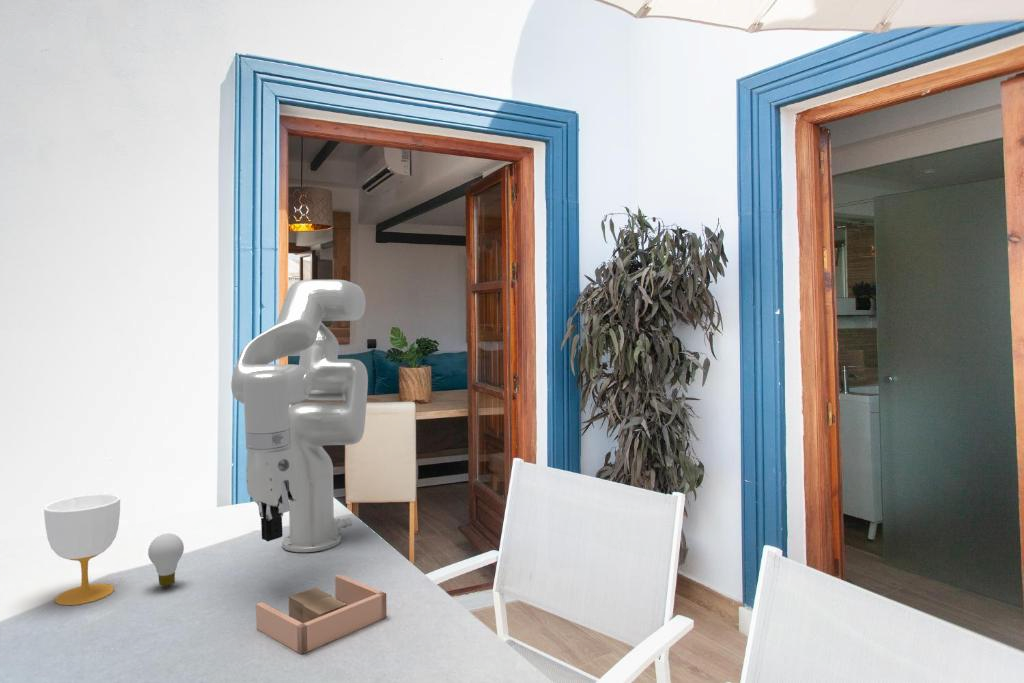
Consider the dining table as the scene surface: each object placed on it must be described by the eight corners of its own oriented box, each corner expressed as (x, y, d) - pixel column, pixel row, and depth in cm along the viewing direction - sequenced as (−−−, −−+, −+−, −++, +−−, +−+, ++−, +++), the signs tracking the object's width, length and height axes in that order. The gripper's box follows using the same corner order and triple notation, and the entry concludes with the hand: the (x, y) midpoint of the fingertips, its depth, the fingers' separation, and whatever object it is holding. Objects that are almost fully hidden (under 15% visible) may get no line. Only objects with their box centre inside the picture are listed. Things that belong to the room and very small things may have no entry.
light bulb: (169, 594, 119) (168, 540, 119) (141, 592, 120) (140, 538, 120) (191, 582, 125) (190, 530, 124) (164, 579, 126) (163, 528, 125)
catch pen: (340, 596, 117) (339, 574, 117) (386, 616, 109) (386, 593, 109) (256, 628, 105) (256, 604, 105) (301, 654, 97) (301, 627, 97)
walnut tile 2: (330, 616, 110) (329, 595, 110) (347, 625, 107) (346, 604, 106) (303, 626, 106) (302, 605, 106) (320, 636, 103) (319, 614, 103)
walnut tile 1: (315, 607, 113) (315, 587, 113) (331, 615, 110) (331, 595, 110) (289, 617, 110) (288, 596, 110) (304, 626, 106) (304, 604, 106)
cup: (131, 593, 119) (129, 501, 119) (54, 615, 111) (52, 515, 110) (111, 577, 127) (109, 490, 127) (38, 595, 119) (36, 502, 118)
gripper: (310, 441, 115) (313, 542, 117) (265, 429, 125) (269, 522, 126) (271, 450, 109) (275, 555, 111) (227, 437, 119) (232, 534, 121)
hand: (272, 537), depth 119 cm, fingers closed
